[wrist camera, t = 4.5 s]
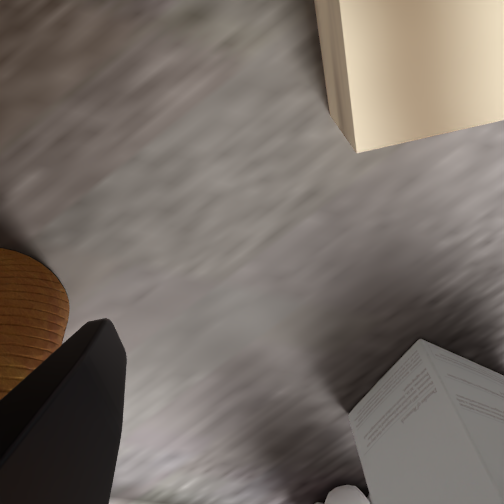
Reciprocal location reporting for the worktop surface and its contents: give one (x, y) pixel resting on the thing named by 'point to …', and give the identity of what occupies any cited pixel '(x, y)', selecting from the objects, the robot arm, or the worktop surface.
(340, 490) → the water bottle
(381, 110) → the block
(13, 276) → the disposable coffee cup
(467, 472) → the supplement box
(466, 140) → the worktop surface
